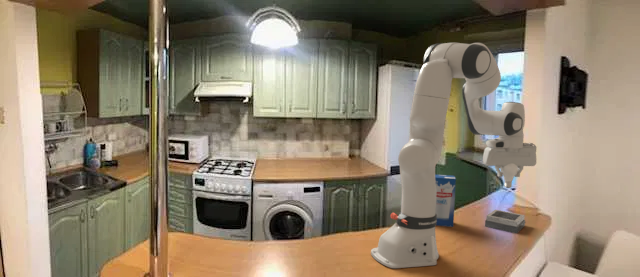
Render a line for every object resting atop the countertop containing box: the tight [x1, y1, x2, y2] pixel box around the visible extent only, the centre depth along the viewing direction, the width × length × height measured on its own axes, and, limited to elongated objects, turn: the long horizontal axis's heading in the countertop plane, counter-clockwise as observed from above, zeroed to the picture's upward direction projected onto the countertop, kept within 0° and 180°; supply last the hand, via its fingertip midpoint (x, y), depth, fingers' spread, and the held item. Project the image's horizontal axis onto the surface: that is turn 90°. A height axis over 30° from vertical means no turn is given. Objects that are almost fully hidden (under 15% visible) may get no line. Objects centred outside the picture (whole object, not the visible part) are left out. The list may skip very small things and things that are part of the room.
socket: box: [484, 209, 526, 234], centre depth 154 cm, size 12×12×4 cm
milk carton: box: [435, 174, 457, 228], centre depth 156 cm, size 10×6×20 cm, turn 76°
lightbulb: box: [499, 163, 518, 189], centre depth 152 cm, size 6×6×11 cm
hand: (508, 176), depth 152 cm, fingers closed on lightbulb, 5 cm apart
